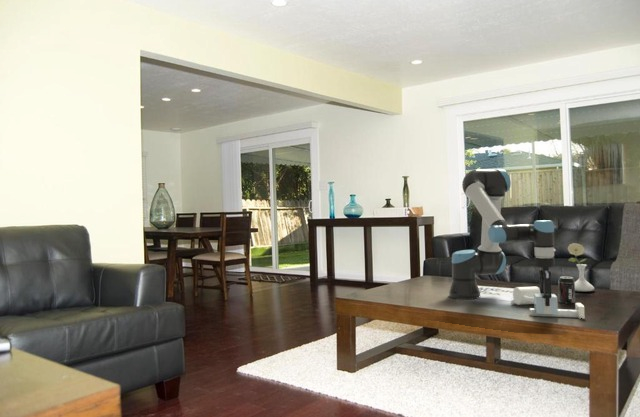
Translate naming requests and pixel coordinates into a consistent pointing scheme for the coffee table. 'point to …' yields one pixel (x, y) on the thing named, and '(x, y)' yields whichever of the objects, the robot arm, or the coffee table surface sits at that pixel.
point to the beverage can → (566, 290)
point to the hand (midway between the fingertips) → (545, 311)
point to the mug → (525, 295)
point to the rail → (564, 312)
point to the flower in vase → (581, 282)
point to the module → (539, 304)
